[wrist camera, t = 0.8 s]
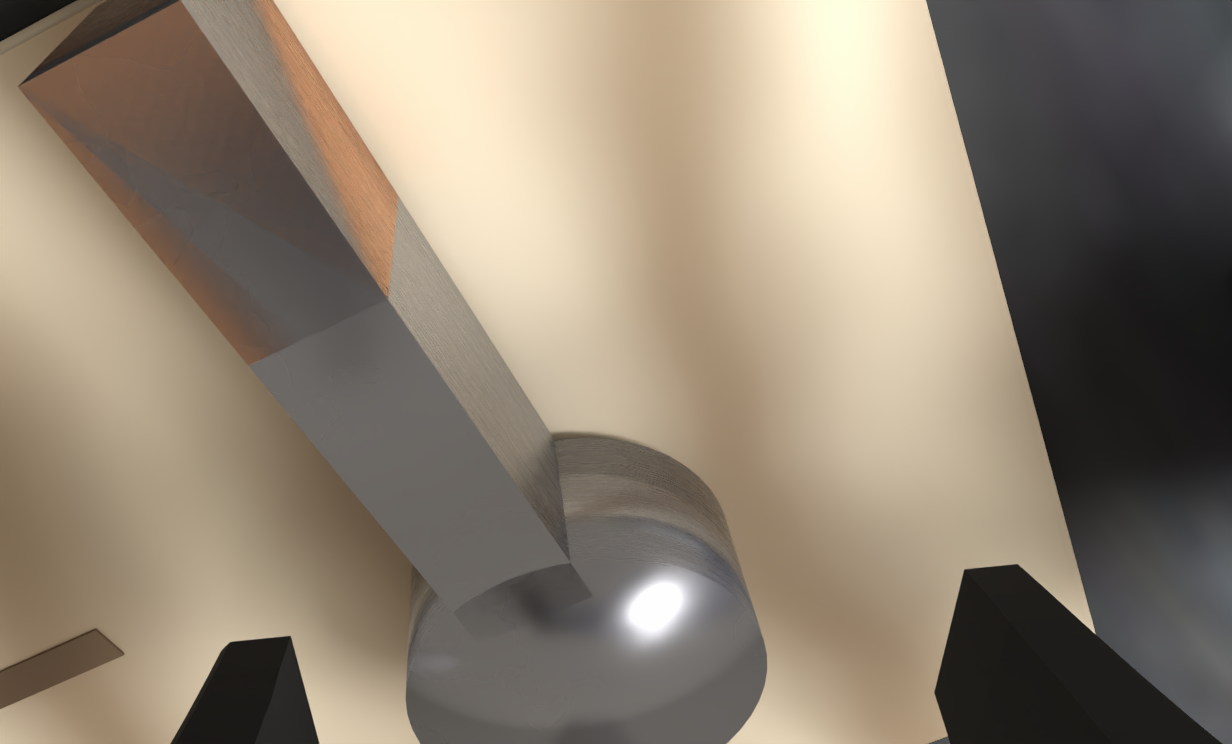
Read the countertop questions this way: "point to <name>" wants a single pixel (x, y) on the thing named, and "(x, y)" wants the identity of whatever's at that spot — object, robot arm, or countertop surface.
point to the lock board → (542, 359)
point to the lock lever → (411, 394)
